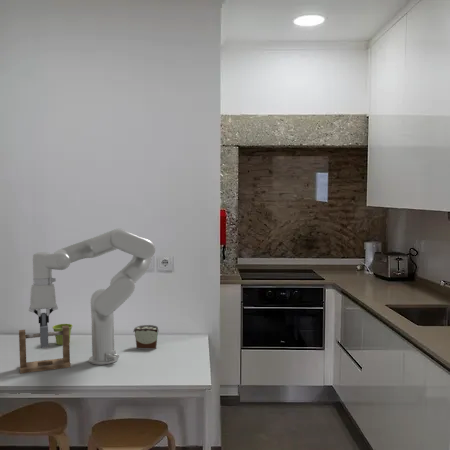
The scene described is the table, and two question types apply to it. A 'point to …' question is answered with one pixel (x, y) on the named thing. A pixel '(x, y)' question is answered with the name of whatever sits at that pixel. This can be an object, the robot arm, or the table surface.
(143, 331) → the food container
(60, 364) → the rack
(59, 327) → the plant pot
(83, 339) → the table surface
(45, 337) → the stepped gray bar
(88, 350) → the table surface
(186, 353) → the table surface
